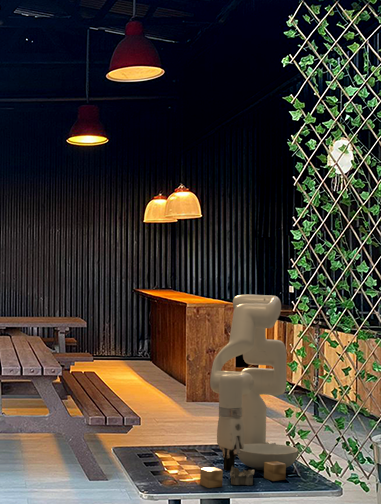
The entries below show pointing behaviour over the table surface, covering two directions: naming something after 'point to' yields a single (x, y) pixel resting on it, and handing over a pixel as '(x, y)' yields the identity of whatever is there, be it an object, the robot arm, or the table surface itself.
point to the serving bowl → (267, 454)
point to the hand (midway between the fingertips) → (228, 470)
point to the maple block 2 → (275, 470)
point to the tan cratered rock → (241, 477)
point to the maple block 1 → (211, 477)
